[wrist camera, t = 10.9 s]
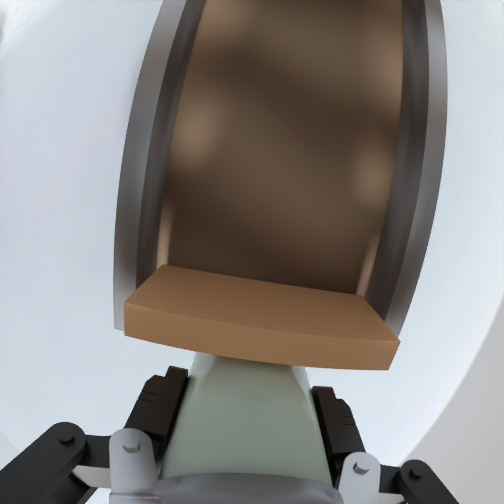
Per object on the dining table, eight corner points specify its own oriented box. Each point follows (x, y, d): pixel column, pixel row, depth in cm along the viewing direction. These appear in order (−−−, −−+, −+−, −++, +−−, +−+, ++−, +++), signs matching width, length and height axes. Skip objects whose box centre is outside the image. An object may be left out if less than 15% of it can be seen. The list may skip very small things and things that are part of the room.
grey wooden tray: (215, -62, 9) (205, -114, 4) (410, -20, 9) (445, -58, 4) (138, 301, 14) (93, 352, 9) (365, 335, 14) (402, 393, 9)
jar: (196, 303, 12) (118, 492, 3) (319, 321, 12) (390, 507, 4) (189, 394, 13) (148, 549, 5) (291, 407, 14) (311, 562, 5)
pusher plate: (162, 264, 12) (123, 302, 8) (361, 295, 13) (400, 341, 8) (160, 289, 13) (124, 335, 8) (354, 318, 13) (387, 370, 9)
